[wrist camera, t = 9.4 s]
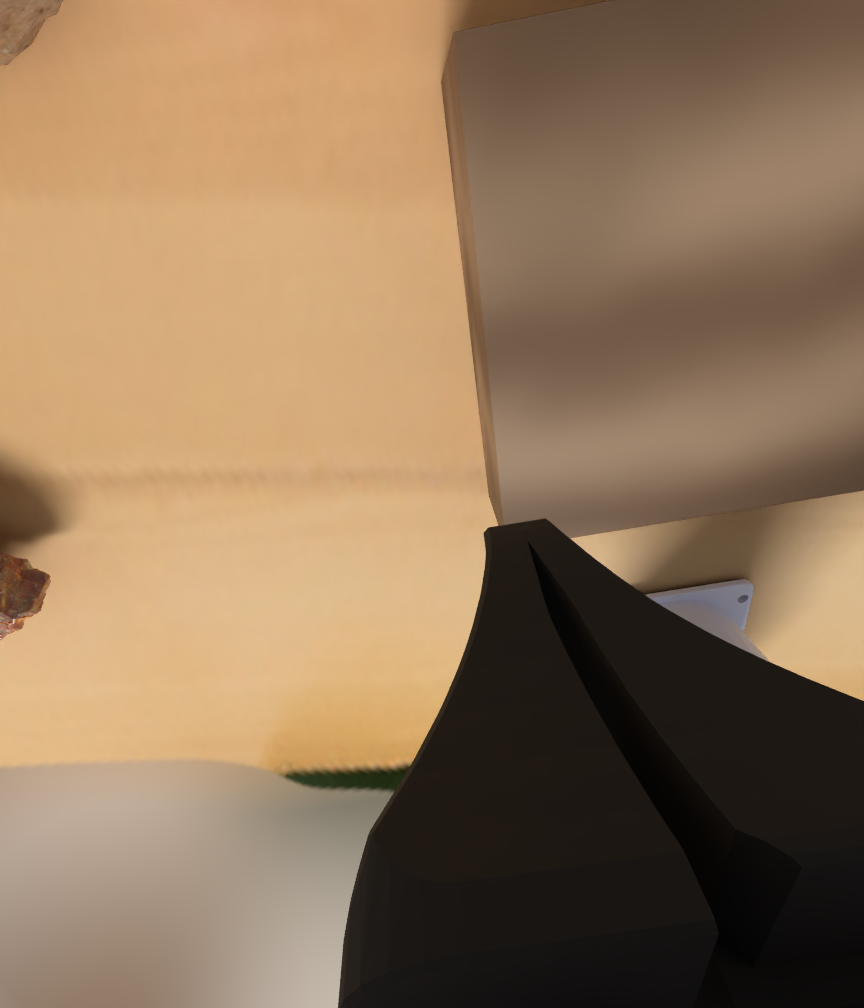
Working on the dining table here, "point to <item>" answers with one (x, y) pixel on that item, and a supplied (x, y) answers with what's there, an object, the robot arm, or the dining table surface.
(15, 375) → the dining table surface
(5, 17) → the brown hollow boot figurine
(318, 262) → the dining table surface
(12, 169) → the dining table surface
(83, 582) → the dining table surface
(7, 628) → the mineral specimen
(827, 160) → the walnut board
